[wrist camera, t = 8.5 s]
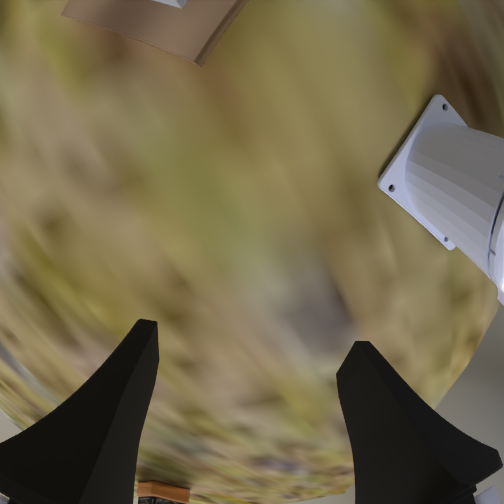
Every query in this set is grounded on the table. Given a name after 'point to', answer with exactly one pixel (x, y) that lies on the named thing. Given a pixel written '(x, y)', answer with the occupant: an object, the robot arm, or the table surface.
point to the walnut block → (162, 22)
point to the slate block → (173, 2)
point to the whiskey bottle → (161, 493)
